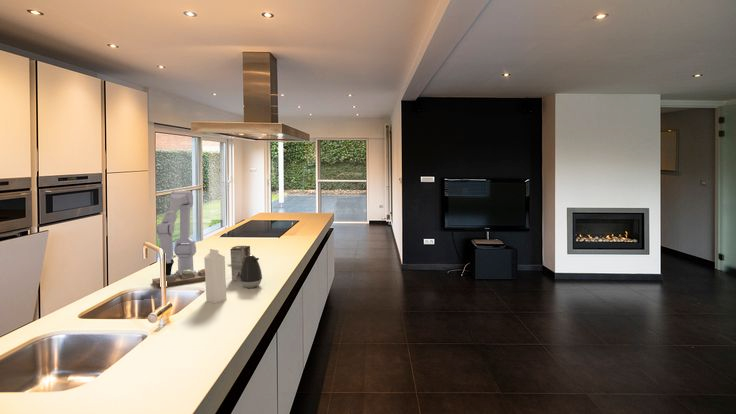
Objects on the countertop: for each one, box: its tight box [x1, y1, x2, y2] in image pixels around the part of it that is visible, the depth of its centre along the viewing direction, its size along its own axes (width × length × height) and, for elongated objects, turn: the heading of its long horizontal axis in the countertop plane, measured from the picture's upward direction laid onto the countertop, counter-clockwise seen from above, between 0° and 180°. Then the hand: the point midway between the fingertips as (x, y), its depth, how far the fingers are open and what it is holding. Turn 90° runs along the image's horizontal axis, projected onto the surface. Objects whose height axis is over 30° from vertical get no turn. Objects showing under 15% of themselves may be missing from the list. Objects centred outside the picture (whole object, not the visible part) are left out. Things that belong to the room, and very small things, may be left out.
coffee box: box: [230, 245, 251, 282], centre depth 224 cm, size 9×6×16 cm
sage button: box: [183, 270, 192, 275], centre depth 221 cm, size 4×4×2 cm
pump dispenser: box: [240, 254, 263, 289], centre depth 208 cm, size 10×10×15 cm
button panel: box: [151, 269, 205, 289], centre depth 221 cm, size 12×30×4 cm, turn 127°
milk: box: [203, 248, 227, 304], centre depth 187 cm, size 6×6×22 cm
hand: (168, 275), depth 216 cm, fingers closed
